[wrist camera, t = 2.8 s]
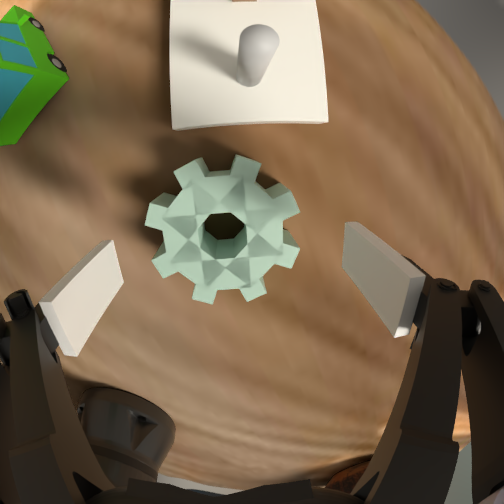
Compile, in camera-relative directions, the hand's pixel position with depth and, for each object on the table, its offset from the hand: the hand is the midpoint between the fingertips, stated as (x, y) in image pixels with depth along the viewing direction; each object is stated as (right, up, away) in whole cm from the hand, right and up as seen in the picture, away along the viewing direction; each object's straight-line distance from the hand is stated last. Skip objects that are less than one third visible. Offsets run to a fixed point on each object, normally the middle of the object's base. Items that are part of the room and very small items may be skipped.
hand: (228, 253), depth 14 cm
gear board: (+1, +20, 0) cm, 20 cm away
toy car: (-21, +18, 0) cm, 27 cm away
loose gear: (-1, +3, +7) cm, 8 cm away
